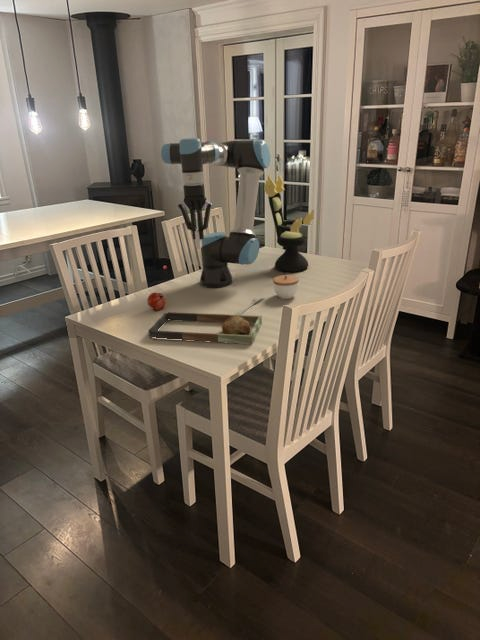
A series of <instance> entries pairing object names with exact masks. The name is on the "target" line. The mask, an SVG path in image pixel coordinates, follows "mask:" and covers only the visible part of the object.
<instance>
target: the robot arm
mask: <svg viewBox="0 0 480 640" xmlns="http://www.w3.org/2000/svg"><path fill="white" fill-rule="evenodd" d="M160 157H161V160H162V161H163V163H165V164H166V165H167V164H168V165H181V176H182V184H184V185H183V196H184V199H183V201H182V202H181V203H179V204H178V205H177V207H178V209H180V210H181V211H180V212H181V214H182V217H183V220H184V223H185V226H186V229H187V230H188V231H191V232H192V239H193V240H195V248H196V250H197V249H199V250H200V251H201V253H200V254H201V262H202V270H201V275H200V280H199V281H200V283H199V284H200V285H201V286H202V287H204V288H209V289H211V288H212V289H216V288H223V287H227V286H230V285H231V284H232V283H233V281H234V280H233V276H232V273H231V271H230V268H229V264H236V265H240V266H241V265H246V266H247V265H252V264H254V263H255V261H256V259H257V258H258V256H259V252H260V242H259V240H258V238H256V233H255V232H254V226H255V224H254V223H255V216H256V210H257V209H256V208H257V201H258V192H259V186H260V177H261V176H263V175H264V173H265V172H264V171H265V169H268V168H269V166H270V165H271V151H270V147H269V145H268V144H267V142H266V141H265V140H262V139H244V140H243V139H241V140H237V139H236V140H229V141H224V142H214V141H205V142H201V139H200V138H199V137H191V138H182V139H180V141H179V142H173V143H172V142H170V143H165V144H163V145H162V146H161V149H160ZM206 164H211V165H213V166H216V167H217V166H218V167H219V166H220V167H226V168H230V169H231V168H232V169H237V172H238V173H239V182H238V189H237V191H238V192H237V200H236V207H235V216H234V223H233V229H232V230H230V231H229V236H227V234H226V232H225V231H224V232H223V231H217V232H216V231H215V232H211V233H208V234H204V231H205V230H206V229H208V227H209V221H210V216H211V215H210V214H211V210H212V207H213V204H214V203H212V202H210V201H208V200H207V198H206V192H205V191H206V190H205V184H204V183H205V182H204V179H205V178H204V169H203V167H204V166H203V165H206ZM204 206H205V211H204V217H203V208H204ZM187 208H188V209H189V212H188V209H187ZM189 213H190V214H189Z"/></svg>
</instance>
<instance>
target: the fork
mask: <svg viewBox="0 0 480 640" xmlns="http://www.w3.org/2000/svg"><path fill="white" fill-rule="evenodd" d="M262 299H264V300H266V298H265V297H258V296H256V297H254V298H252V300H251V301H252V303H250V305H248V306H246V307H244V308H242V309H240V310H239V311H237V312H236V313H234V315H243V314H244V313H245V312H246V311H247V310H248V309H249V308H251V307H252V306H253V305H255V304H256V303H257V302H259V301H260V300H262Z"/></svg>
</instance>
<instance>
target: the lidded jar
mask: <svg viewBox="0 0 480 640" xmlns="http://www.w3.org/2000/svg"><path fill="white" fill-rule="evenodd" d="M299 281H300V280H299V277H297V276H295V275H292V274H291V275H290V274H284V275H277V276H275V277H274V278H273V279H272V282H273V290H274V292H275V294H276V296H278V297H279V299H283V300H287V299H292V298H293V297H294V296H296V294H297V292H298V289H299Z"/></svg>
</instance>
